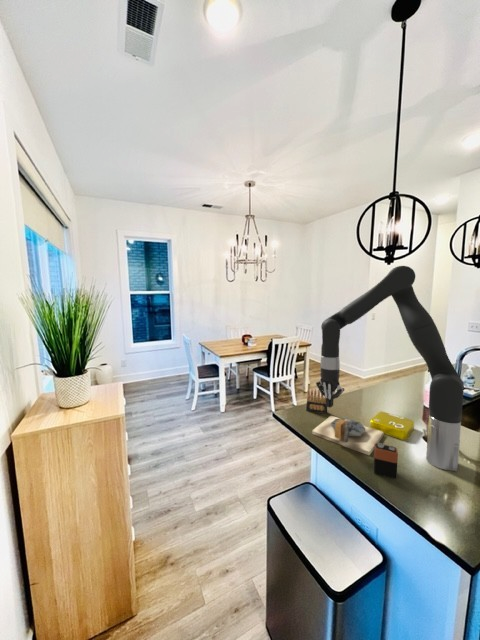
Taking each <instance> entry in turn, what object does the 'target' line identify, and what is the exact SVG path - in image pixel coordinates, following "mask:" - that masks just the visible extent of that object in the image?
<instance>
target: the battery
mask: <svg viewBox="0 0 480 640" xmlns="http://www.w3.org/2000/svg"><path fill="white" fill-rule="evenodd" d="M397 449H398V448H397V447H395V446H394V445H387V444H384V443H382V442H379V443H378V444H377V443H375V447H374V450H373V472H374V474H375V475H380V476H383V477H387V478H391V479H397V476H398V475H397V474H398V458H399V457H398V456H399V454H398V450H397Z"/></svg>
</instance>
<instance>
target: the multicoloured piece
mask: <svg viewBox="0 0 480 640" xmlns="http://www.w3.org/2000/svg"><path fill="white" fill-rule="evenodd" d="M345 419H346V418H340V419H335V420H334V421H333V422H332V423H331V426H332V428H333V429H334V430H335V437H336V438H339V439H341V438H342V437H343V436H344V425H346V421H345ZM350 420H351V421H352V428H348V436H361V435H362V434H363V433H364V432H365V427H364V426H365V425H364V424H361V422H360V421H357V420H354V419H350Z"/></svg>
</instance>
